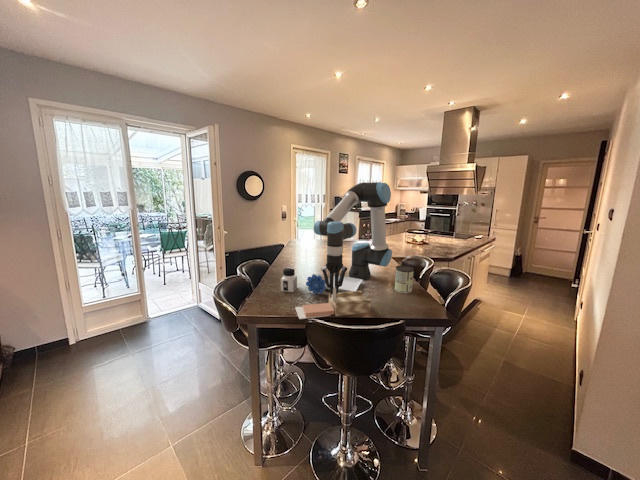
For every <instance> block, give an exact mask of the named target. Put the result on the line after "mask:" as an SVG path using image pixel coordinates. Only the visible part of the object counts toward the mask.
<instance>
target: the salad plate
mask: <svg viewBox="0 0 640 480" xmlns="http://www.w3.org/2000/svg"><path fill="white" fill-rule="evenodd" d="M339 278H340V275H339ZM328 281H329V284H330V277H328ZM363 281H364V280H362V279H357V278H350V277H349V276H344V279H343V283H342V286H341V287H339V288H338V292H339V293H340V292H351V291H358V290H359V286H361V284H362V283H363ZM324 285H325V286H326V283H325V284H324ZM334 286H335V274H334V280H333V287H334ZM325 290H328V291H330V288H328V287H327V286H326V289H325Z"/></svg>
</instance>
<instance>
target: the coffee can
mask: <svg viewBox="0 0 640 480" xmlns="http://www.w3.org/2000/svg"><path fill="white" fill-rule="evenodd" d="M414 270H415V268H414V267H412V266H409V265H397V266H395V279H394V291H396V292H398V293H400V294H401V293H402V294H410V293H412V292H413V283H414V282H413V281H414V272H415V271H414Z"/></svg>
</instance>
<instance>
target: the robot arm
mask: <svg viewBox="0 0 640 480" xmlns="http://www.w3.org/2000/svg"><path fill="white" fill-rule="evenodd" d="M391 198H392V192H391V188H390V186H389V184H388V183H386V182H382V181H381V182H380V181H379V182H378V181H377V182H375V181H374V182H365V181H363V182H360V183H356V184H354V186H352V187H350V188H349V189H348V190H347V191H346V192H345V193H344V196H343V198H342V199H341V200H340V201H339V202H338V203H337V204H336V206H335V207H334V208H333V209H332V210H331V211H330V212H329V213H328V214H327V215H326V217H325V218H324V219H323V220H317V221H315V223H314V224H313V232H314V234H316V235H318V236H323V237H327V238H326V242H327V243H326V264H325V266H324V267H321V269H320V271H322V273H323V279H324V280H325V282H326V286H327V287H328V288H330V290H329V294H332V296H331V299H332V300H333V301H336V294H338V293H339V291H338V288H339V287H341V286H342V283H343V279H344V277H346V276H345V275H346V272H347V271H348V267H346V266H344V264H343V251H344V240H348V239H351V238H353V237H355V235H356V233H357V227H356V225H355V224H354V223H352V222H346V223H344V222H342V220H343V219H344V218H345V216H347V214H348V213H349V212H350V211H351V210H352V208H353V207H354V206H356V205H358V204H359V203H363V202H364V203H367V207H368V208H369V209H370V225H371V244H370V243H369V242H359V243H355V244H353V245H352V248H351V265H350V267H349V268H350V269H349V271H348V277H350V278H357V279H362V280H363V281H364V280H369V279H371V275H372V274H371V270H370V267H369V265H375V266H379V267H387V266H388V265H389V264H390V262H391V260H392V257H393V251H392V249H390V248H389V244H388V243H387V240H386V238H387V237H386V236H387V235H386V233H387V232H386V231H387V230H386V211H385V210H386V207H387V206H388V203H390V201H391ZM327 271H328V272H329V277H328V273H327ZM334 275H335V286H334V287H333V280H334ZM339 276H340V278H339ZM329 278H330V284H329V281H328V279H329Z"/></svg>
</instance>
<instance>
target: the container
mask: <svg viewBox="0 0 640 480" xmlns="http://www.w3.org/2000/svg"><path fill="white" fill-rule="evenodd" d="M295 271H296V270H295V269H294V268H293V267H285V268H284V269H283V274H282V275H283V276H282V277H281V278H280V291H281V292H283V293H284V292H285V293H294V292H295V290H297V288H298V277H297V275H295V273H296V272H295Z"/></svg>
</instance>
